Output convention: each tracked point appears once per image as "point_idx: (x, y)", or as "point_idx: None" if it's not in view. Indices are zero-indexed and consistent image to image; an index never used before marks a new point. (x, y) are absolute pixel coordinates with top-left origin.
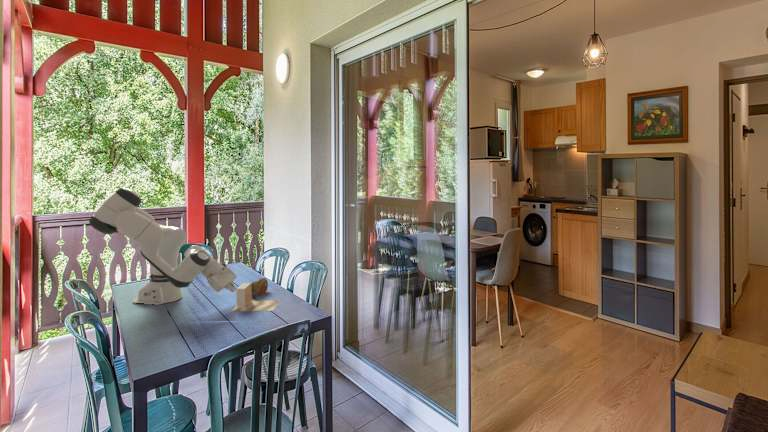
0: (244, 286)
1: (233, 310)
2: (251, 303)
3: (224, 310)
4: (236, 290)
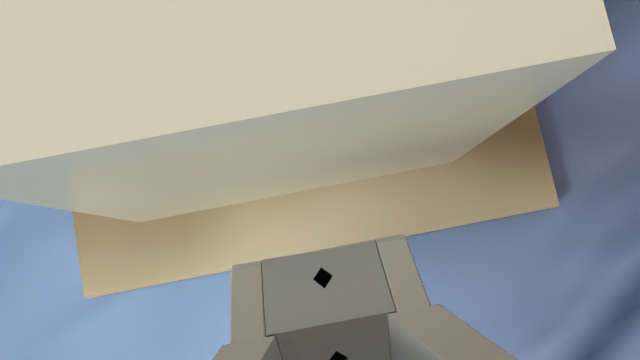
0: None
1: (531, 176)
2: None
3: (510, 340)
4: (586, 67)
